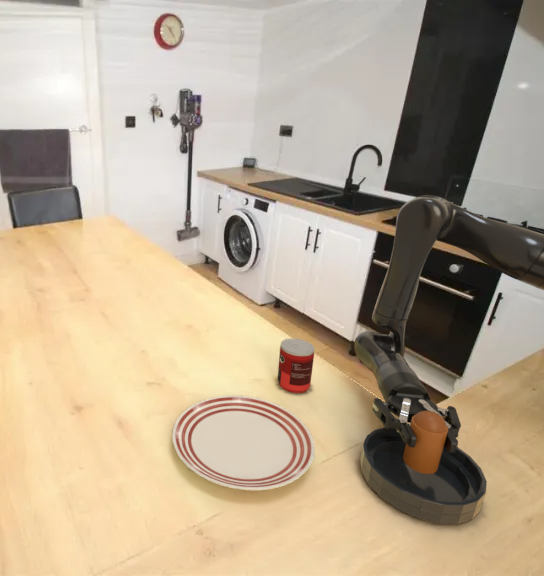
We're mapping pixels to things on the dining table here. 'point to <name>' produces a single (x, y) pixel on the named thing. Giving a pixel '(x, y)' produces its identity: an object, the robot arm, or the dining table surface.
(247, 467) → the dinner plate
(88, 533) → the dining table surface
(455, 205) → the robot arm
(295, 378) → the canned food
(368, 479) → the shallow round tray
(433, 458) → the orange round-topped cylinder
